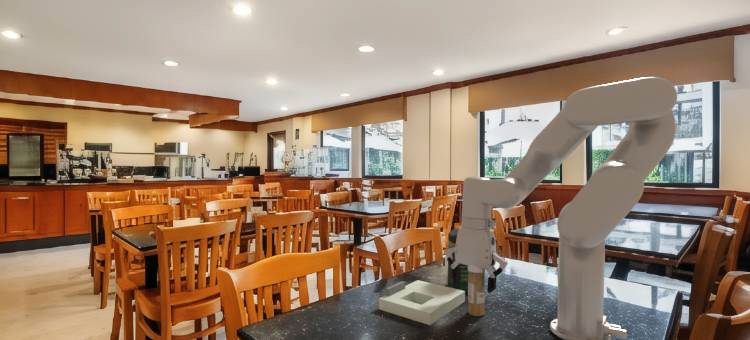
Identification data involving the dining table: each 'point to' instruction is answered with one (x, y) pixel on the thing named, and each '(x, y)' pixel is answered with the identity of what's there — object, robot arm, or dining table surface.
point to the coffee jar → (464, 268)
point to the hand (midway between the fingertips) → (473, 286)
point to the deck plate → (421, 301)
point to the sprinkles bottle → (476, 291)
